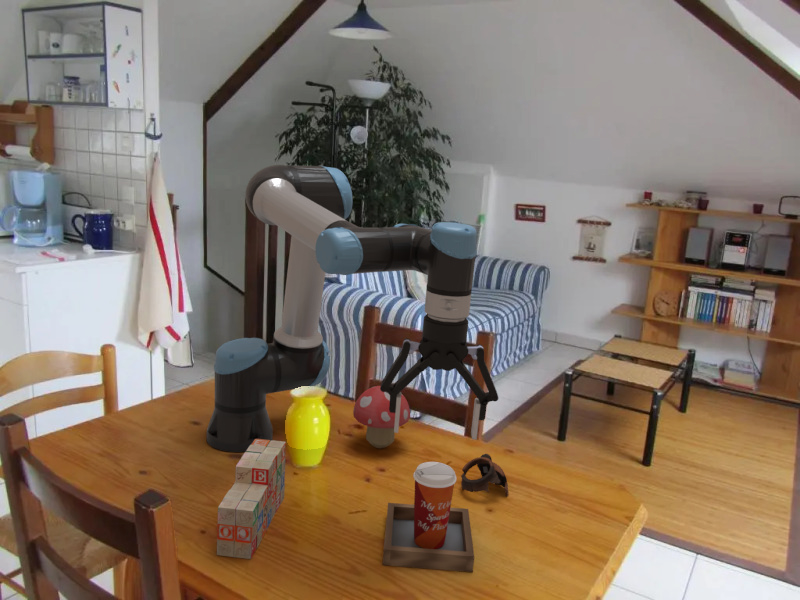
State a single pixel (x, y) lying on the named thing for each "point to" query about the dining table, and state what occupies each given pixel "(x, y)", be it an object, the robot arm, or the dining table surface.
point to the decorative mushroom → (379, 416)
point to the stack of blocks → (252, 499)
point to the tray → (409, 554)
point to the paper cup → (432, 503)
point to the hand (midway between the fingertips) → (434, 432)
